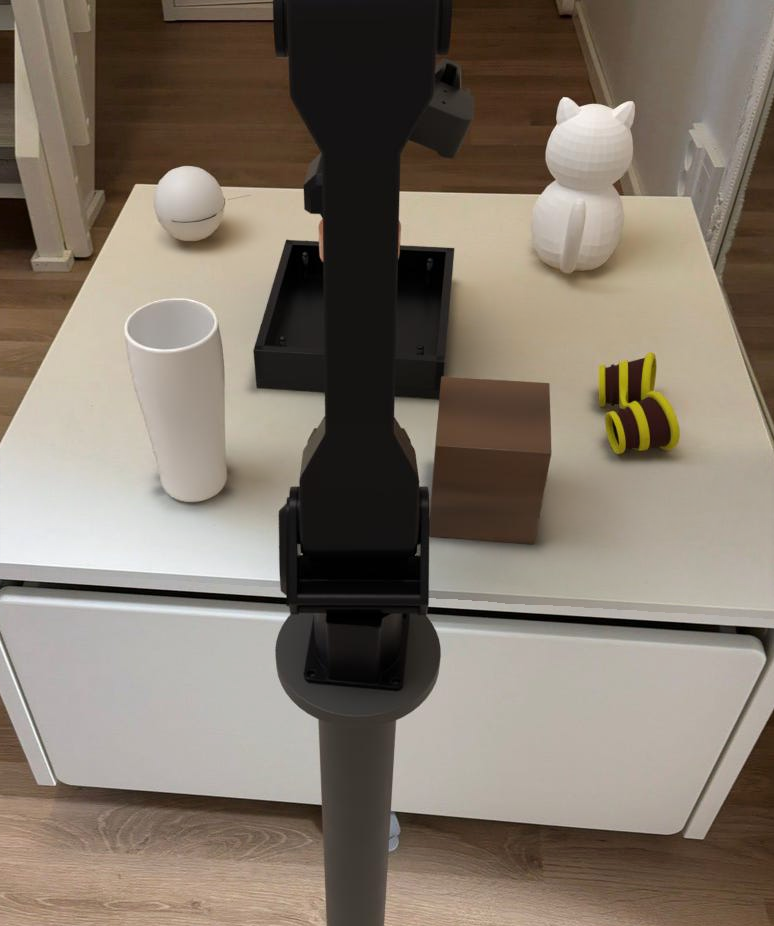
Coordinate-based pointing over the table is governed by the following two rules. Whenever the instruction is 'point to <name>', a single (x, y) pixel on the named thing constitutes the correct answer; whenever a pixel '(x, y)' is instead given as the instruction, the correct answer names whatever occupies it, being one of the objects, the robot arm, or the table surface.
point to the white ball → (189, 203)
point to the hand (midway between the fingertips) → (358, 241)
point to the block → (490, 459)
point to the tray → (302, 321)
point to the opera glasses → (636, 407)
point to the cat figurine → (583, 186)
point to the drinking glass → (181, 393)
